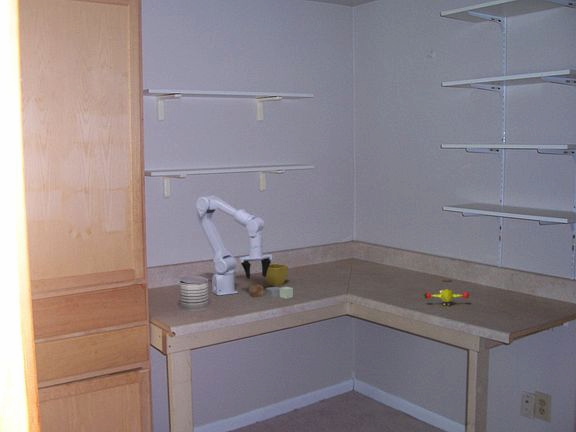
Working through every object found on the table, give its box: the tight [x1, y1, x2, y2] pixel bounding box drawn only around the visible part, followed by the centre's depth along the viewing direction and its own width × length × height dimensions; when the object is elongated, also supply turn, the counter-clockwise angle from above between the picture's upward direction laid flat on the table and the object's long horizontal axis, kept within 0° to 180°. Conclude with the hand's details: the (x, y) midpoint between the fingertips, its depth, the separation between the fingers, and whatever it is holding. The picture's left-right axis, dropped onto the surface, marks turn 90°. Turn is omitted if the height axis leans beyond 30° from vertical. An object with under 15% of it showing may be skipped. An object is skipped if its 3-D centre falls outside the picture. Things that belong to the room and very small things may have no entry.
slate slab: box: [265, 286, 281, 298], centre depth 276 cm, size 6×6×3 cm
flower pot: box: [263, 263, 289, 287], centre depth 294 cm, size 9×9×9 cm
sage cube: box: [279, 286, 294, 299], centre depth 272 cm, size 4×4×4 cm
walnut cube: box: [248, 284, 264, 299], centre depth 274 cm, size 4×4×4 cm
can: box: [179, 275, 209, 312], centre depth 255 cm, size 11×11×12 cm
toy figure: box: [424, 288, 470, 307], centre depth 255 cm, size 18×6×7 cm, turn 90°
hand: (256, 277), depth 273 cm, fingers open, 7 cm apart
